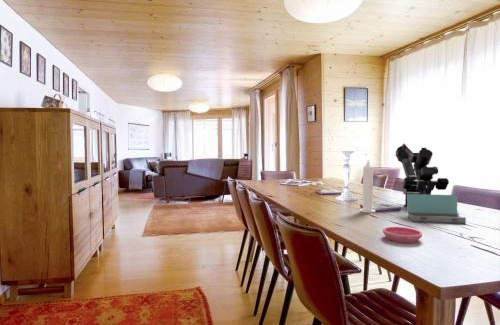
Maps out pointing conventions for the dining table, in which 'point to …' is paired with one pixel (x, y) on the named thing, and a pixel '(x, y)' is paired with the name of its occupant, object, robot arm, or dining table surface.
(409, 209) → the cover
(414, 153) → the robot arm
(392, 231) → the saucer
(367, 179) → the candle
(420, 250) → the dining table surface
